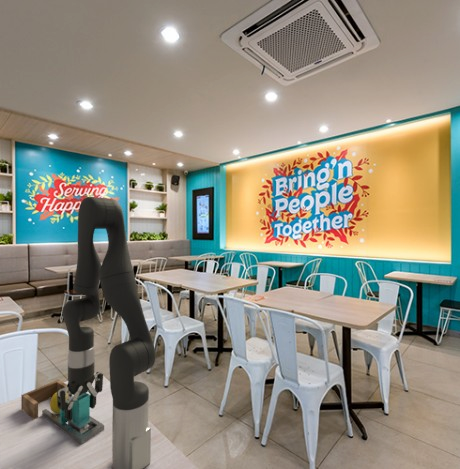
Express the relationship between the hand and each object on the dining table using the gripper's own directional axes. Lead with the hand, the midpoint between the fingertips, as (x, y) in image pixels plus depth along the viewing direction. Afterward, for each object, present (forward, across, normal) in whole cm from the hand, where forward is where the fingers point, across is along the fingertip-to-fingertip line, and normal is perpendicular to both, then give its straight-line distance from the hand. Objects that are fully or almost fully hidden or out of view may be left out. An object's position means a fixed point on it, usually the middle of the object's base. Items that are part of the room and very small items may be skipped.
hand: (81, 413), depth 92 cm
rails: (+5, 0, +6) cm, 8 cm away
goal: (+5, 0, +21) cm, 21 cm away
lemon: (+5, 0, +13) cm, 14 cm away
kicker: (+5, 0, 0) cm, 5 cm away
